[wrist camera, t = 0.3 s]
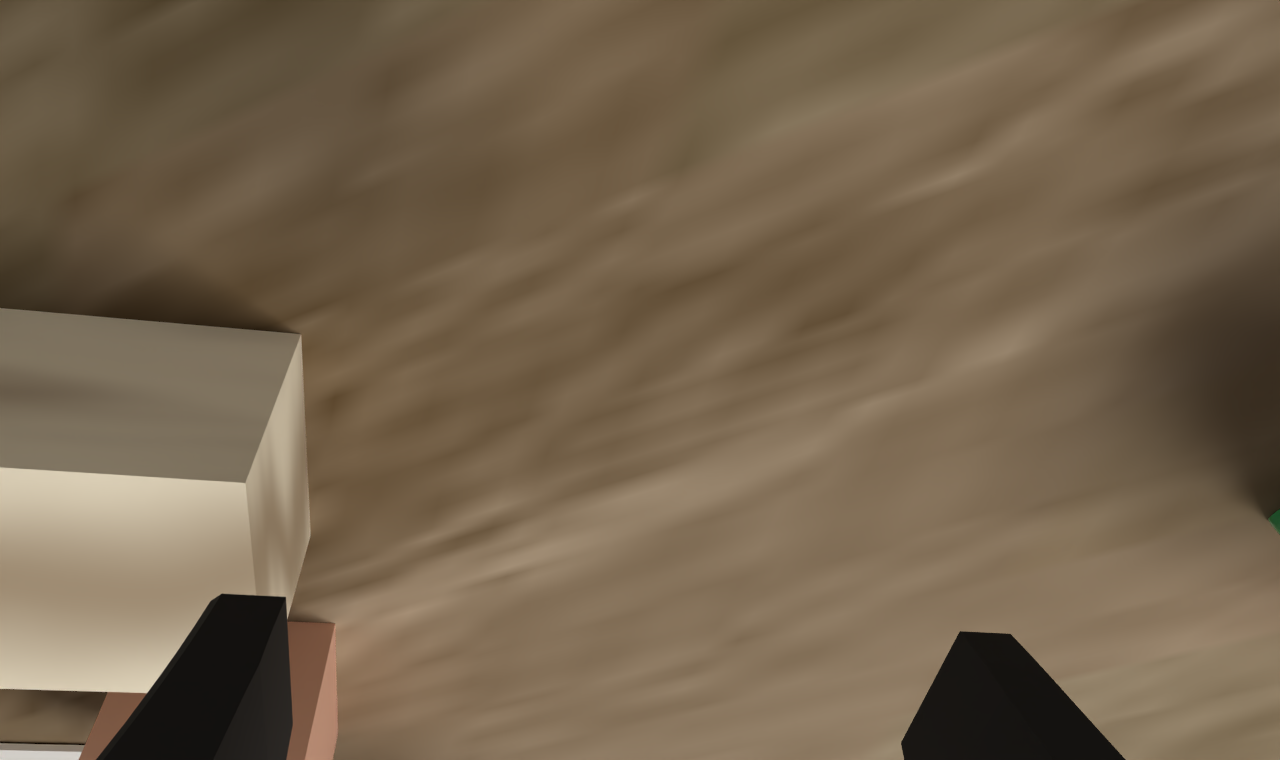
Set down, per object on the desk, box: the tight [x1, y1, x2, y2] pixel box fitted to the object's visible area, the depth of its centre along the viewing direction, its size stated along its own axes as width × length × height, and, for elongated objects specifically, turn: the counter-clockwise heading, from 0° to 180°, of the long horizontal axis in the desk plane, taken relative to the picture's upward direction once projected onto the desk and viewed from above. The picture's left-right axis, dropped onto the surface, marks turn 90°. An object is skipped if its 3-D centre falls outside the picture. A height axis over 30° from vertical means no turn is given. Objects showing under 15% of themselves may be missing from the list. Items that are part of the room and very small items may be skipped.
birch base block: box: [0, 308, 311, 693], centre depth 18 cm, size 6×6×4 cm
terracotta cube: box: [79, 621, 338, 760], centre depth 23 cm, size 4×4×4 cm
